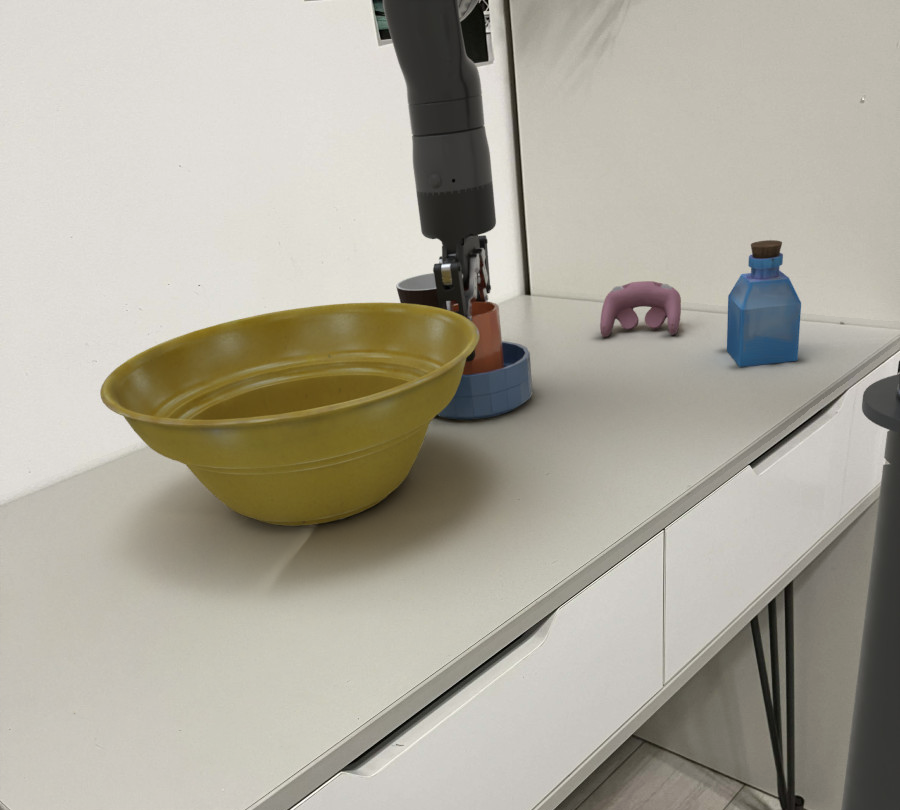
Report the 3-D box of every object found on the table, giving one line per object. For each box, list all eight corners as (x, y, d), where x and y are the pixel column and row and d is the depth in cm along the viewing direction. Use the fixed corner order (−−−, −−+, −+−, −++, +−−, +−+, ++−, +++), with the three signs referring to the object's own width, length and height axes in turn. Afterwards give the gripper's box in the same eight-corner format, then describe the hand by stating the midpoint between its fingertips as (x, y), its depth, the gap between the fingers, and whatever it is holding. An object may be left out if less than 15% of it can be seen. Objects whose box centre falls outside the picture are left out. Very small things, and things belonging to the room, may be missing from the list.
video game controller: (681, 340, 120) (684, 282, 119) (678, 333, 115) (681, 274, 115) (603, 342, 123) (605, 286, 122) (597, 336, 118) (599, 278, 118)
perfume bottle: (781, 344, 109) (788, 234, 103) (797, 360, 103) (805, 245, 97) (726, 350, 109) (729, 241, 103) (739, 367, 104) (743, 253, 98)
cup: (509, 373, 105) (503, 299, 101) (498, 393, 100) (491, 316, 96) (453, 375, 107) (445, 303, 103) (440, 395, 101) (430, 320, 97)
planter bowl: (568, 472, 85) (558, 322, 78) (263, 626, 69) (217, 452, 62) (358, 408, 107) (336, 287, 101) (88, 512, 91) (41, 375, 84)
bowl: (540, 382, 108) (537, 338, 105) (522, 421, 98) (518, 373, 95) (438, 386, 111) (432, 343, 108) (411, 424, 101) (404, 378, 98)
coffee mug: (466, 348, 123) (457, 268, 118) (485, 365, 115) (476, 281, 110) (378, 365, 121) (365, 285, 116) (392, 384, 114) (379, 299, 108)
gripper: (475, 190, 86) (493, 370, 94) (505, 167, 98) (518, 329, 106) (396, 198, 88) (421, 373, 96) (434, 174, 100) (453, 332, 108)
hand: (472, 349), depth 101 cm, fingers closed on cup, 6 cm apart
